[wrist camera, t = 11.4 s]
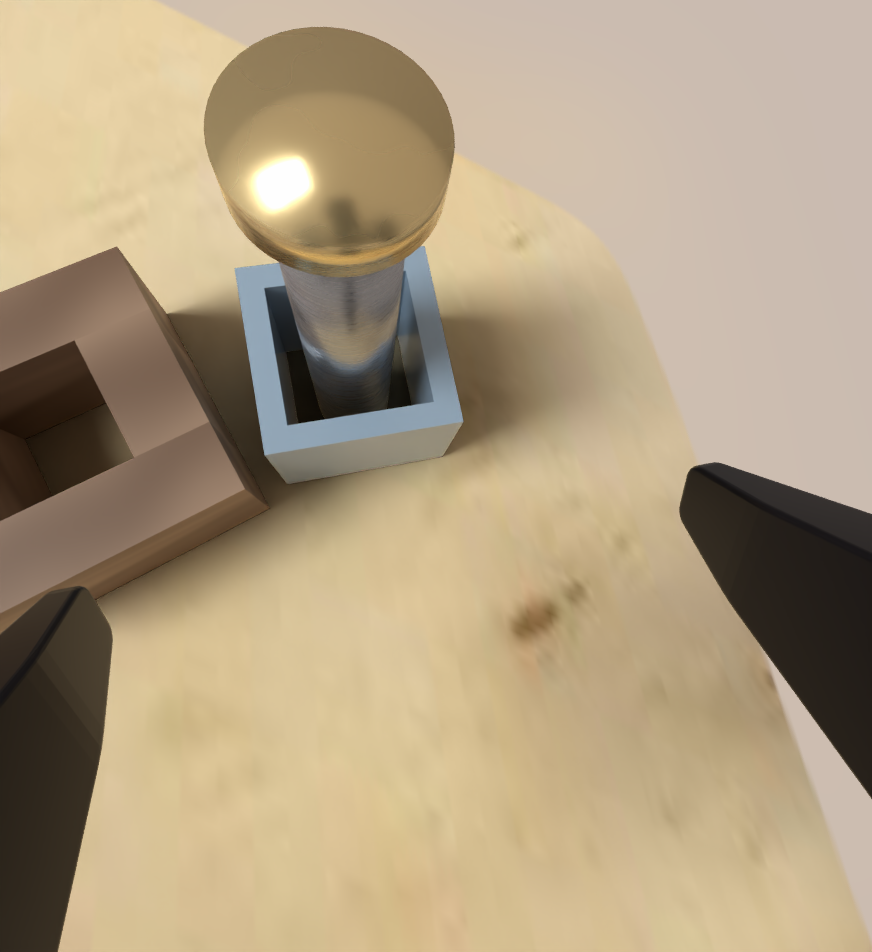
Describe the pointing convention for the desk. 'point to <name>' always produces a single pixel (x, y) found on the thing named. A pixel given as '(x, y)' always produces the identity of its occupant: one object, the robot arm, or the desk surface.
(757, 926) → the desk surface
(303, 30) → the pin
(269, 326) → the holder
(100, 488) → the hitch block
